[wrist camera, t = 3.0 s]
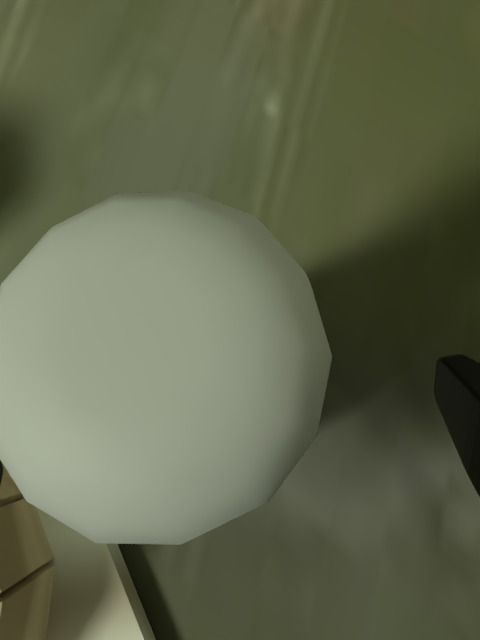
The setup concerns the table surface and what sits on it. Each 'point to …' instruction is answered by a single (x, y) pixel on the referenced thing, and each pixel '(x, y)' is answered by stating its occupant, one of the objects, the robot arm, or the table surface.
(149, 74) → the table surface
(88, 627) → the socket
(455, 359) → the robot arm
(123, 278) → the salt shaker
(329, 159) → the table surface
